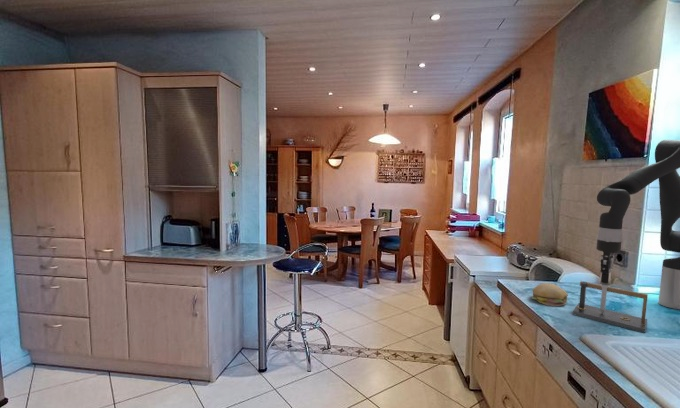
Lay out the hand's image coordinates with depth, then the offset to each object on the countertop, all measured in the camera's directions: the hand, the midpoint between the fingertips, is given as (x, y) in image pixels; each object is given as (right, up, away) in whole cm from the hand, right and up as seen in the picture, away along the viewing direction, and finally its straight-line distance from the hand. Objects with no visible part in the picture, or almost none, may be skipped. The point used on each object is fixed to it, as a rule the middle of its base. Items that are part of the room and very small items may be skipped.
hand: (605, 281), depth 134 cm
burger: (-12, -13, +18) cm, 25 cm away
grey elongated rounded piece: (0, -13, +2) cm, 13 cm away
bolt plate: (+1, -15, 0) cm, 15 cm away
